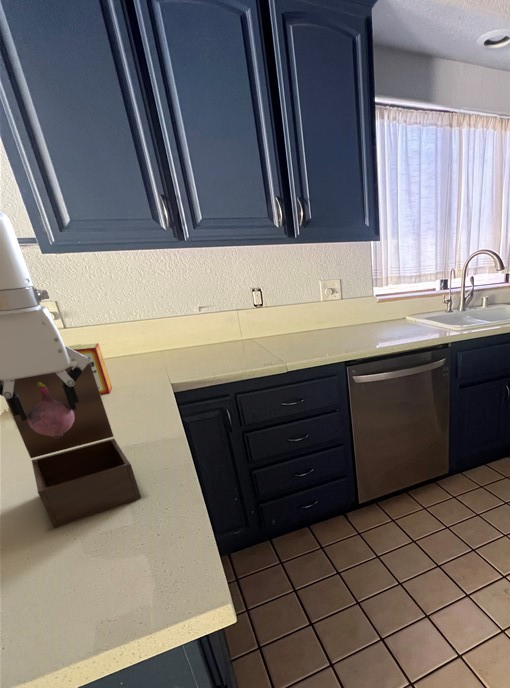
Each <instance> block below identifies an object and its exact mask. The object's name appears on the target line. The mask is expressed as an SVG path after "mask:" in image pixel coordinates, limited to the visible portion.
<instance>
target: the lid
mask: <svg viewBox="0 0 510 688" xmlns="http://www.w3.org/2000/svg"><path fill="white" fill-rule="evenodd" d="M72 367H74V366H69V367H68V368H67V369H65V371H66V372H67V373H69V371H70V370H71V369H72ZM62 381H63V380H62V379H61V378H60V377H59V376H58V375H57V374H56V373H55V372H54V373H48V374H43V375H37V376H31V377H25V378H20V379H15V382H14V391H15V393H16V394H18V396H19V399H20V401H21V404H22V406H23V408H24V411H25V413H26V416H27V418H28V414H29V412H30V410H31V409H32V408H33V407H34V406H36V405H37V404H39V403H40V402H41V400H42V393H41V390H40V387H39V386H38V385H40V384H38V385H37V383H38V382H41V383H42V384H43V385H45V386H46V387H47V390H48V392H49V394H50V396H51V398H52V399H53V401H58V402H61V403H64V404H65V405H67V406H69V404H68V401H67V398H66V395H65V393H64V390H63V387H62V385H63V382H62ZM0 384H1V385H2V384H3V380H0ZM73 386H74V389H75V392H76V394H77V397H78V400H79V402H77V403H75V406H76V408H77V409H75V410H73V409H72V411H73V413H74V422H73V424H72V426H71V428H70V429H69V430H68V431H66V432H65V433H63V435H62V436H59V437H56V438H53V437H51V436H47V435H42V434H39V433H37V432H36V431H34V430H33V429H32V428H31V427H30V426H29V424H28V420H27V419H26V420H25V421H22V420H21V417H20V415H17V416H14V414H13V412H12V410H11V407H10V405H9V402H8V400H7V398H4V399H5V402H6V404H7V407H8V409H9V411H10V413H11V416H12V418H13V420H14V423H15V425H16V427H17V430H18V432H19V435H20V438H21V439H22V442H23V444H24V446H25V448H26V451H27V453H28V456H29V458H30V459H36V458H39V457H43V456H47V455H51V454H55V453H58V452H60V451H61V452H62V451H66V450H70V449H74V448H77V447H81V446H85V445H89V444H93V443H96V442H100V441H104V440H108V439H112V438H114V437H115V436H114V433H113V431H112V426H111V424H110V420H109V418H108V414H107V411H106V409H105V405H104V402H103V399H102V395H100V393H99V389H98V386H97V383H96V380H95V377H94V374H93V371H92V368H91V365H90V363H88V365H87V366H86V367H85V369H84V370H83V371H82V373H81V375H80V376H79V377H78V379H77V380H76V382H75V384H74V385H73ZM69 407H70V406H69ZM60 437H62V438H60Z"/></svg>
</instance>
